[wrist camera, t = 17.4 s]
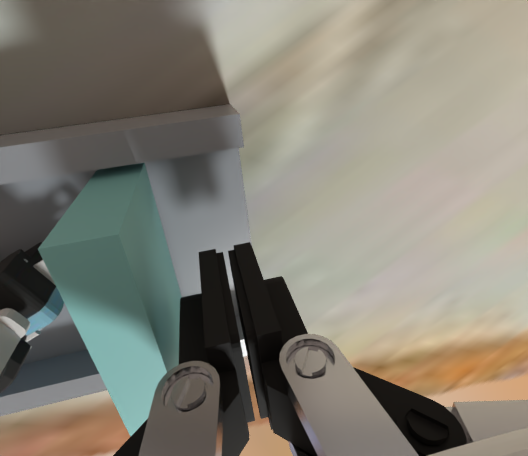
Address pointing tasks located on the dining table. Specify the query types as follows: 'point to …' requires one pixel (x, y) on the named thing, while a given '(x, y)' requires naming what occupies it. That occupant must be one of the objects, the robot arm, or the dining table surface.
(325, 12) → the dining table surface
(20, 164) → the tray
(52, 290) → the push button
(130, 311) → the clamp jaw
